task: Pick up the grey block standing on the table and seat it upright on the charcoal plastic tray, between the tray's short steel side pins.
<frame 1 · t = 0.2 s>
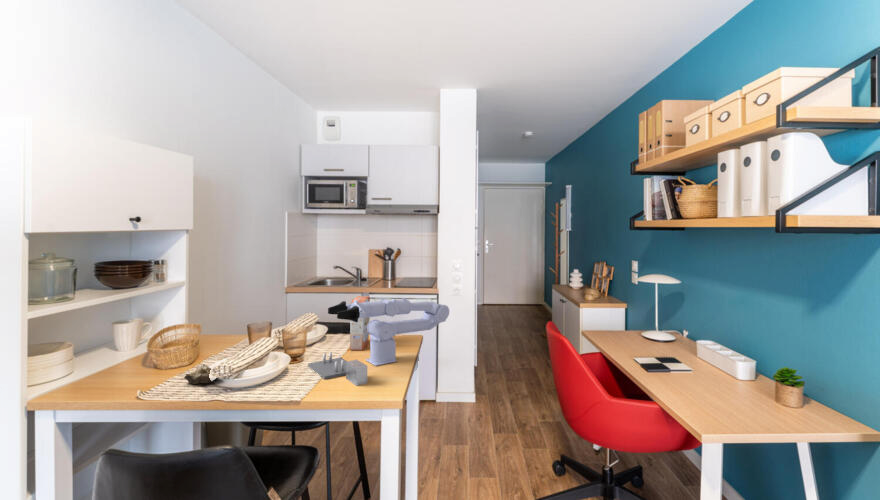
hand: (332, 313, 145), 21 cm above the table, fingers open, 7 cm apart
cracker box: (359, 346, 179), on the table
fossilized seashell: (203, 383, 135), on the table
grey block: (356, 381, 139), on the table
pin tray: (333, 369, 149), on the table
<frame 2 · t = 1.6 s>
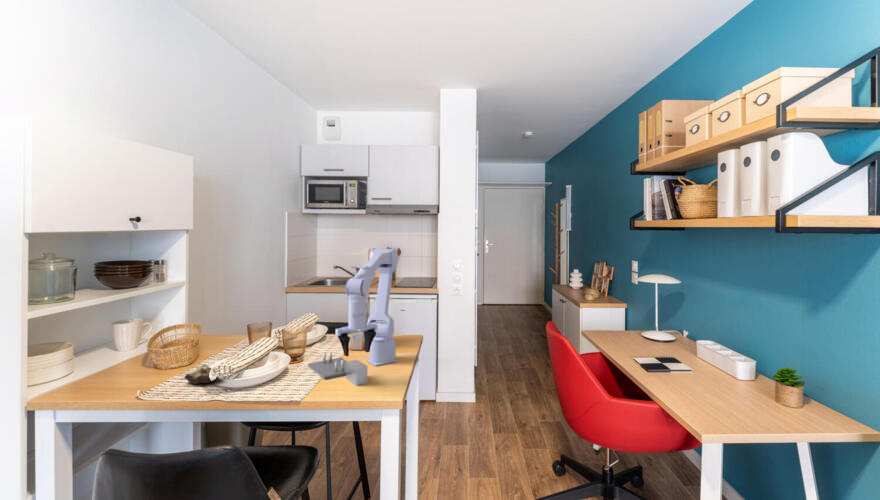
hand: (356, 353, 138), 9 cm above the table, fingers open, 7 cm apart
nothing on the table moved.
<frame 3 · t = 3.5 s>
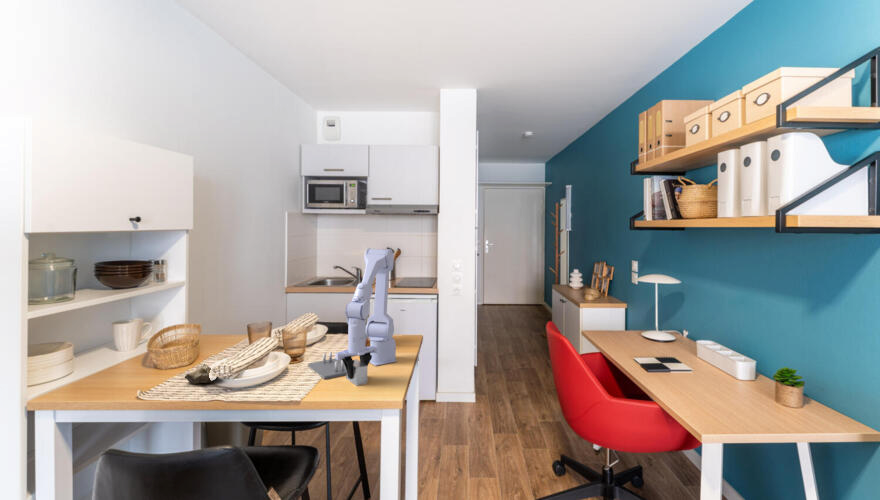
hand: (356, 376, 139), 1 cm above the table, fingers closed on grey block, 4 cm apart
grey block: (356, 380, 139), on the table, touching gripper
everything else where it was.
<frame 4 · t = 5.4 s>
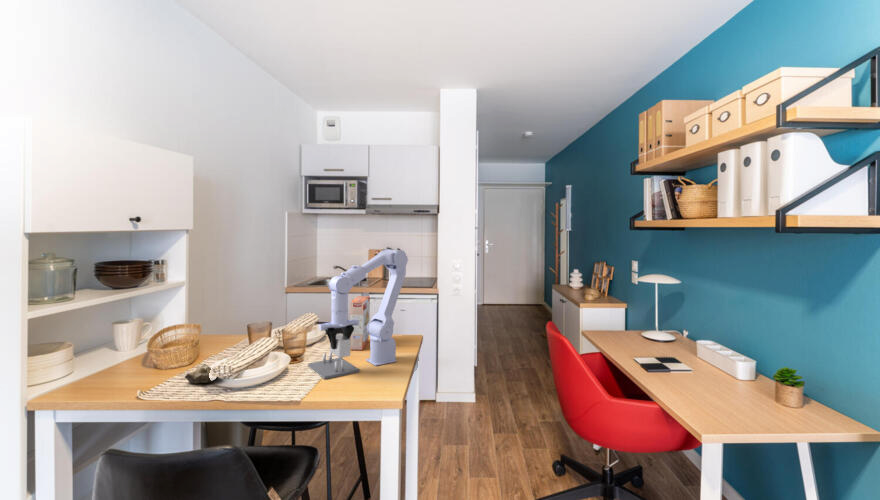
hand: (339, 347, 146), 9 cm above the table, fingers closed on grey block, 4 cm apart
grey block: (340, 353, 146), point 7 cm above the table, touching gripper
everything else where it was.
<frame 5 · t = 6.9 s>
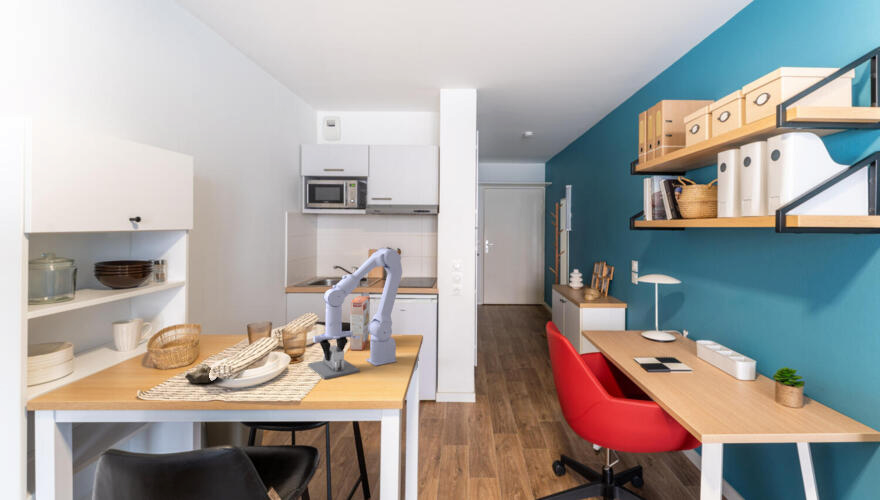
hand: (333, 358, 149), 4 cm above the table, fingers closed on grey block, 4 cm apart
grey block: (333, 365, 149), point 2 cm above the table, touching gripper
everything else where it was.
when the fingers open (3 cm above the table, at t = 7.8 s): grey block stays where it is, resting on pin tray.
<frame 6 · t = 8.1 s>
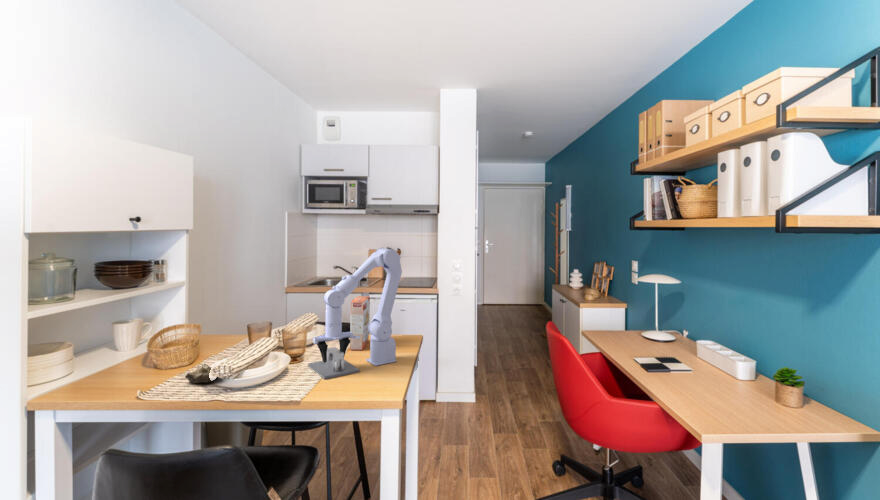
hand: (333, 359, 149), 3 cm above the table, fingers open, 6 cm apart
grey block: (333, 366, 149), point 1 cm above the table, touching pin tray
everything else where it was.
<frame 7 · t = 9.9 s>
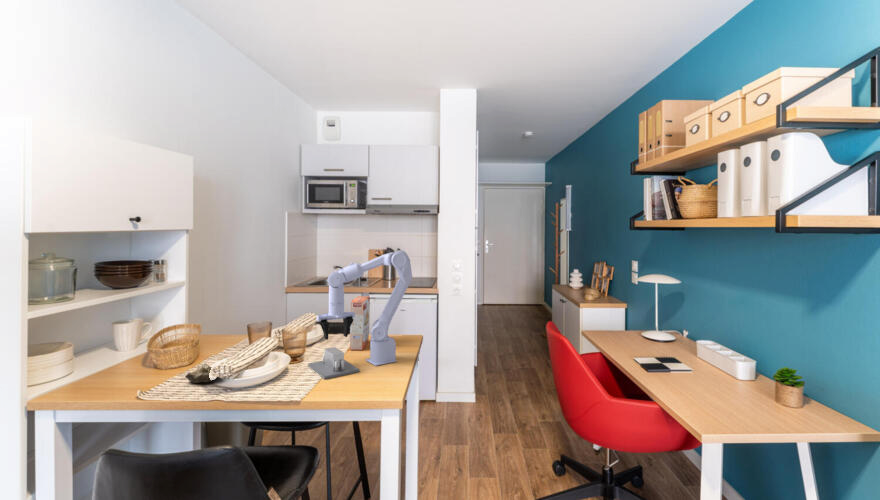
hand: (336, 337, 157), 9 cm above the table, fingers open, 7 cm apart
nothing on the table moved.
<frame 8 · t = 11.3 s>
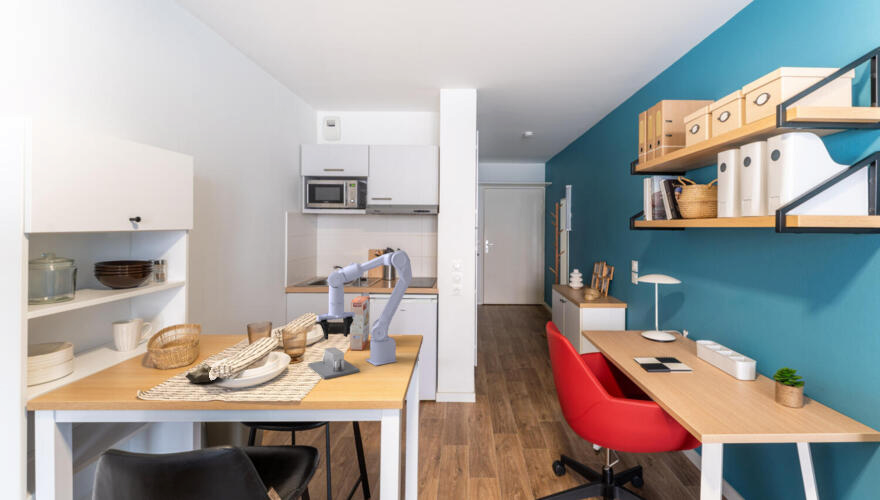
hand: (336, 337, 157), 9 cm above the table, fingers open, 7 cm apart
nothing on the table moved.
at the end: grey block 0.6 cm off-centre on the pin tray, point 1.0 cm above the pin tray's base; grey block tilted 0°; the gripper is holding nothing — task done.
